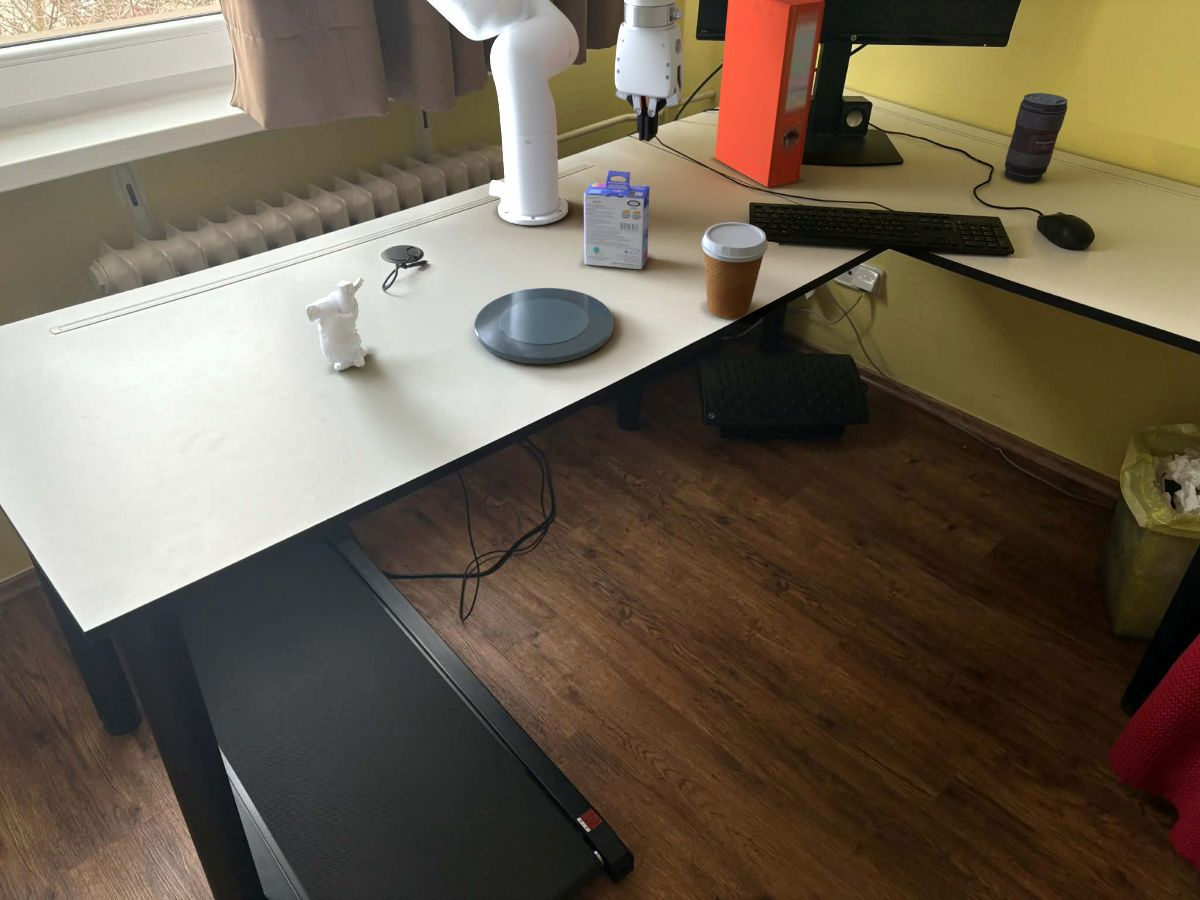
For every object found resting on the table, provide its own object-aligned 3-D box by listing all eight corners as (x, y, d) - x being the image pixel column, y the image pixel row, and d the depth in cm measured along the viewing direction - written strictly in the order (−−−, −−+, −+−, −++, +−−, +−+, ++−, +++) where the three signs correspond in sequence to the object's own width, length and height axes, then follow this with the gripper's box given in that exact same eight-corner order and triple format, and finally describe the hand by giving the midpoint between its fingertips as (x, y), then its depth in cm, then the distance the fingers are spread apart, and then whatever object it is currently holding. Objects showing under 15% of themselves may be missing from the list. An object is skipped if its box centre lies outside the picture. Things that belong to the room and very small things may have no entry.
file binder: (746, 152, 186) (763, -19, 166) (800, 180, 175) (825, 0, 155) (714, 159, 183) (728, -14, 163) (767, 188, 171) (788, 5, 152)
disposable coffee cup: (719, 330, 130) (726, 255, 123) (684, 302, 137) (689, 228, 130) (773, 315, 134) (782, 240, 126) (736, 288, 140) (744, 215, 133)
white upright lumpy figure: (370, 343, 128) (355, 266, 121) (387, 365, 124) (373, 287, 116) (311, 360, 125) (293, 282, 117) (327, 383, 120) (308, 304, 113)
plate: (448, 346, 127) (447, 337, 126) (519, 285, 141) (519, 276, 140) (573, 381, 120) (573, 371, 119) (635, 313, 134) (635, 304, 133)
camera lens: (1048, 174, 176) (1073, 95, 167) (1039, 188, 171) (1065, 107, 162) (1006, 166, 180) (1028, 88, 171) (996, 179, 174) (1018, 100, 165)
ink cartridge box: (648, 255, 149) (651, 170, 140) (643, 271, 145) (646, 184, 136) (590, 250, 151) (590, 166, 142) (583, 265, 147) (582, 179, 138)
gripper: (705, 14, 133) (699, 137, 145) (615, 5, 139) (615, 125, 150) (686, 25, 128) (681, 152, 139) (593, 16, 133) (595, 139, 145)
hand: (647, 138), depth 145 cm, fingers closed
